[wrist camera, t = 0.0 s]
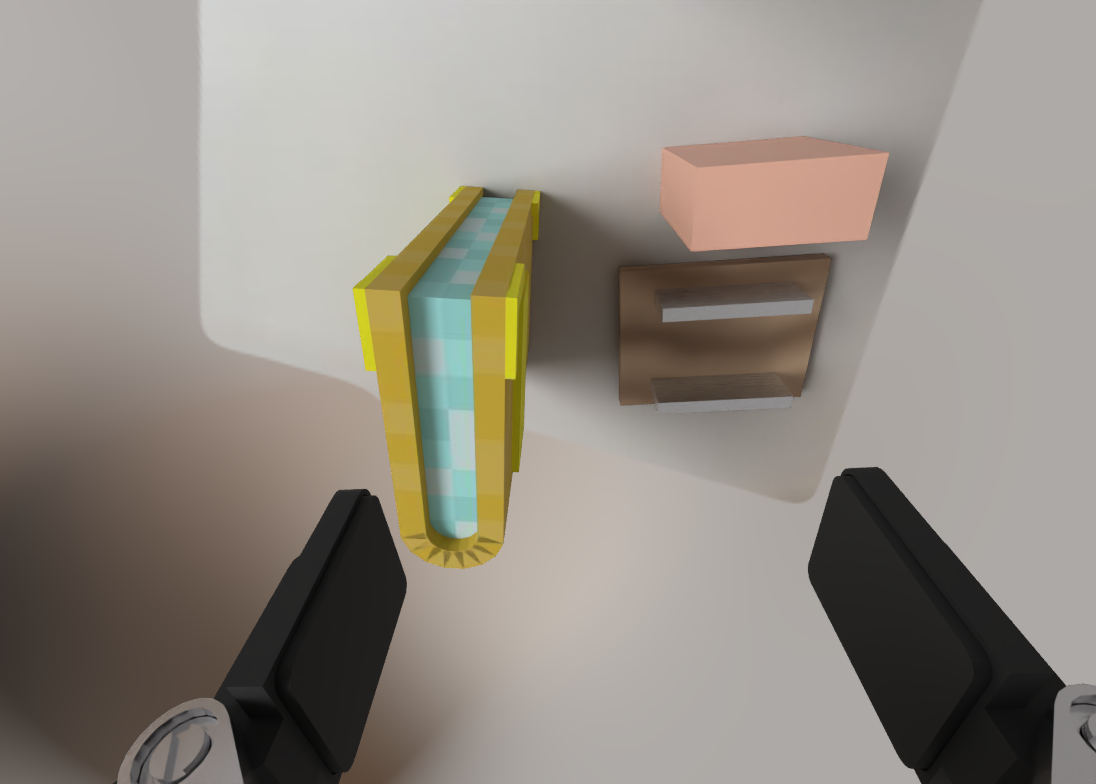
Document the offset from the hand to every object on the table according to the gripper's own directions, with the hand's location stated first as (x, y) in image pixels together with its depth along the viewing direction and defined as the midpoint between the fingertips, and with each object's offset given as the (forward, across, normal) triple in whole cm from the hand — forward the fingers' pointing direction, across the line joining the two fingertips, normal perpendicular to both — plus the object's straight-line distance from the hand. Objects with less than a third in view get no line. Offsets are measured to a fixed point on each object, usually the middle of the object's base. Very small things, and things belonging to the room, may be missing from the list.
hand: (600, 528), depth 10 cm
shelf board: (+37, -13, +13) cm, 41 cm away
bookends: (+35, -13, +13) cm, 40 cm away
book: (+37, +7, +7) cm, 38 cm away
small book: (+37, -13, -1) cm, 39 cm away
